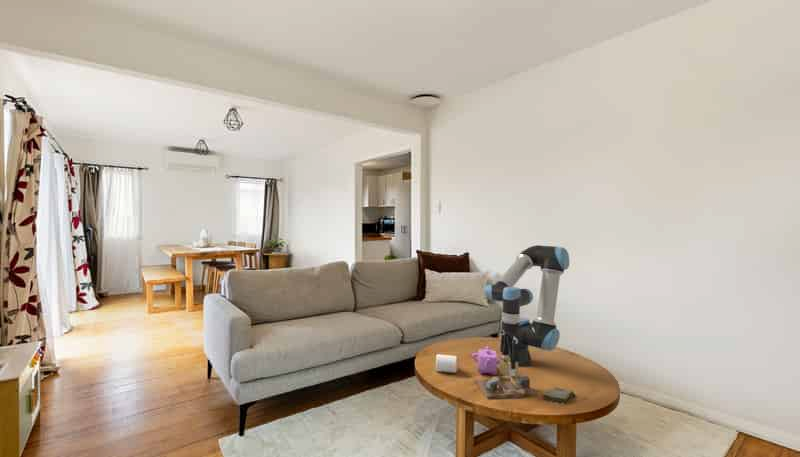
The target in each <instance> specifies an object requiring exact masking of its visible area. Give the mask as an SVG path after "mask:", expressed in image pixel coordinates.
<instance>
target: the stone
mask: <svg viewBox="0 0 800 457" xmlns="http://www.w3.org/2000/svg"><path fill="white" fill-rule="evenodd" d="M574 392H575V391H572V390H570V389H564V388H559V387H553V388H552V389H549V390H546V391H545V392H543V393H542V400H543V401H545V400H546V402H550V401H552V402H551V403H555V402H558V403H557V404H561V403H565V404H567V403H569V402H570V401H571V399H572V400H573V398H574V397H575V398H576V393H574ZM575 398H574V399H575ZM569 400H570V401H569ZM568 401H569V402H568Z"/></svg>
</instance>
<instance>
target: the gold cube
mask: <svg viewBox="0 0 800 457" xmlns="http://www.w3.org/2000/svg"><path fill="white" fill-rule="evenodd" d="M499 359H500V363H499V364H498V365H499V367H498V370H499V372H500V373H501V374H502V375H503V377H504V376H509V360H510V357H509V358H499ZM518 369H519V366H518V362H516V365H515V376H514V377H519V376H518V375H519V372H518V371H519V370H518Z"/></svg>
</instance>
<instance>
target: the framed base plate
mask: <svg viewBox="0 0 800 457" xmlns="http://www.w3.org/2000/svg"><path fill="white" fill-rule="evenodd" d="M494 378H498V379H500V384H499V385H497V391H494V392H491V391H489V390H487V389H486V381H488V380H489V379H482V380H480V379H479V380H478V379H476V380H475V379H474V384H475V386H476V387H477V388H478V389H479V390H480V392H481V393H482V394H483V396H484V397H485V399H488V400H491V399H493V400H495V399H510V398H511V399H513V398H528V397H530V398H532V397H538V393H537V392H536V391H535V390H534V389H533V388H532V387H531V386H530V387H529V388H523V387H522V386H521V385H520V384H519V383H518V382H517V378H513V376H504V375H503V376H491V379H494Z"/></svg>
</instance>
